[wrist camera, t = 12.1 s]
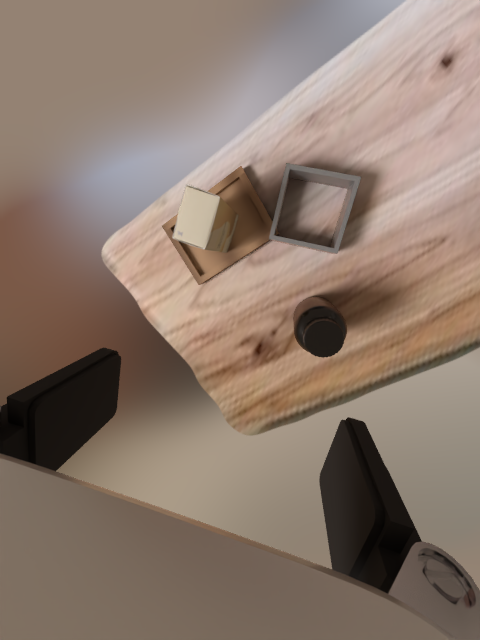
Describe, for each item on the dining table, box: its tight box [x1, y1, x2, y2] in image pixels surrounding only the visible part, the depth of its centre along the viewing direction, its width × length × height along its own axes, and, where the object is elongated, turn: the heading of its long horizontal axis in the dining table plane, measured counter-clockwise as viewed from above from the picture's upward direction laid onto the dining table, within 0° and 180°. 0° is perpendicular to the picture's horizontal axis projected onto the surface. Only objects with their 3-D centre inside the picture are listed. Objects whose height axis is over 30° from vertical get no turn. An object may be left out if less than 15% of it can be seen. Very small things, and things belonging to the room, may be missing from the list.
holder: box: [269, 163, 361, 254], centre depth 36 cm, size 10×10×4 cm
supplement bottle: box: [293, 297, 347, 357], centre depth 36 cm, size 7×7×12 cm
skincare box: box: [172, 184, 239, 253], centre depth 35 cm, size 6×4×12 cm
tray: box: [162, 166, 279, 285], centre depth 40 cm, size 15×11×1 cm
